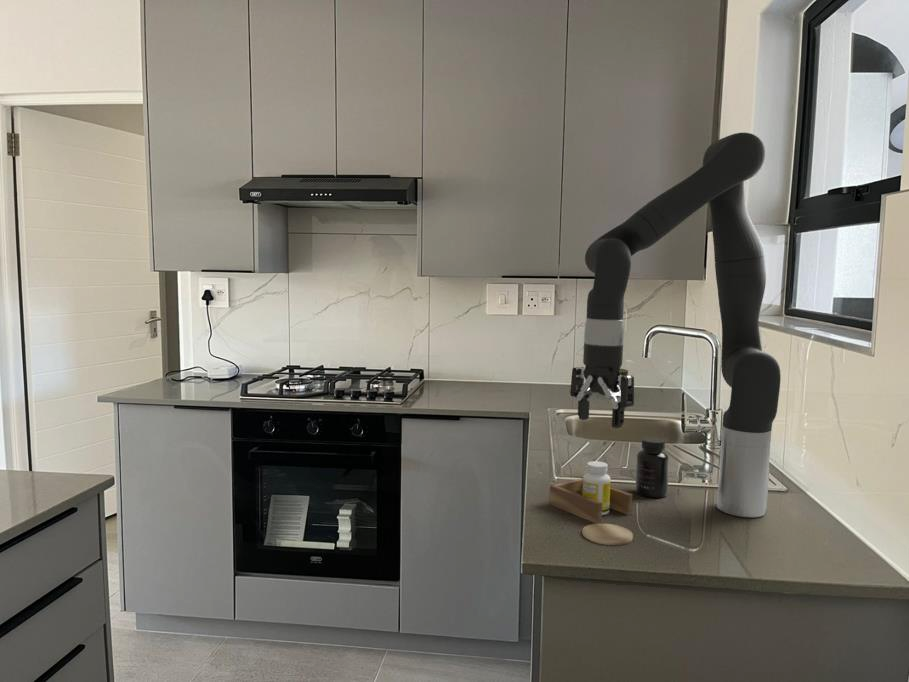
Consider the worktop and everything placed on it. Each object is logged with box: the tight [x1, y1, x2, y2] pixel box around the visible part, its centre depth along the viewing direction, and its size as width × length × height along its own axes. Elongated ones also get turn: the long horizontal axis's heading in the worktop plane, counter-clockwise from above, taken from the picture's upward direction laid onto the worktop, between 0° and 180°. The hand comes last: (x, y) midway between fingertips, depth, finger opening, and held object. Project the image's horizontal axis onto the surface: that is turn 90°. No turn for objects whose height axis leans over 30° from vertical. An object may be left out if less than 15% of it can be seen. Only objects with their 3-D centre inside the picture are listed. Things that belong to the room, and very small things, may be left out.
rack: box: [548, 477, 633, 524], centre depth 143 cm, size 10×13×4 cm
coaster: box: [582, 523, 634, 546], centre depth 129 cm, size 9×9×1 cm
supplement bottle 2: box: [634, 437, 670, 499], centre depth 154 cm, size 7×7×12 cm
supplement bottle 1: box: [582, 460, 611, 516], centre depth 141 cm, size 5×5×10 cm
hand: (599, 423), depth 140 cm, fingers open, 8 cm apart
